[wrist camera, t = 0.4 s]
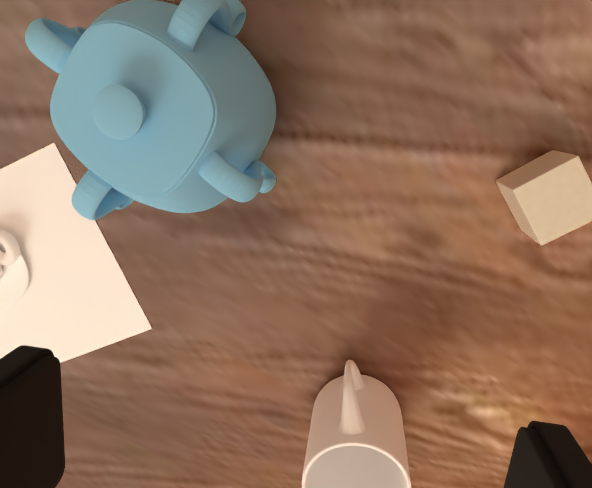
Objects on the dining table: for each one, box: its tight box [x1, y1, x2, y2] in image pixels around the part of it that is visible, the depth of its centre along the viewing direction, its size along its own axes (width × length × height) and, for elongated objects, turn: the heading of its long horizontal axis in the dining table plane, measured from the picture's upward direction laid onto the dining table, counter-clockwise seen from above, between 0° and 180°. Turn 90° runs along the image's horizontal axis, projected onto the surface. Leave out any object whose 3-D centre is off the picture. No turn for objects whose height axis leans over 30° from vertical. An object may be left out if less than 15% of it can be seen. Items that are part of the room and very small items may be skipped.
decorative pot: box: [25, 0, 276, 220], centre depth 36 cm, size 16×16×14 cm
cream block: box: [495, 150, 592, 245], centre depth 38 cm, size 5×5×5 cm
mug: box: [302, 360, 411, 488], centre depth 43 cm, size 9×12×11 cm
